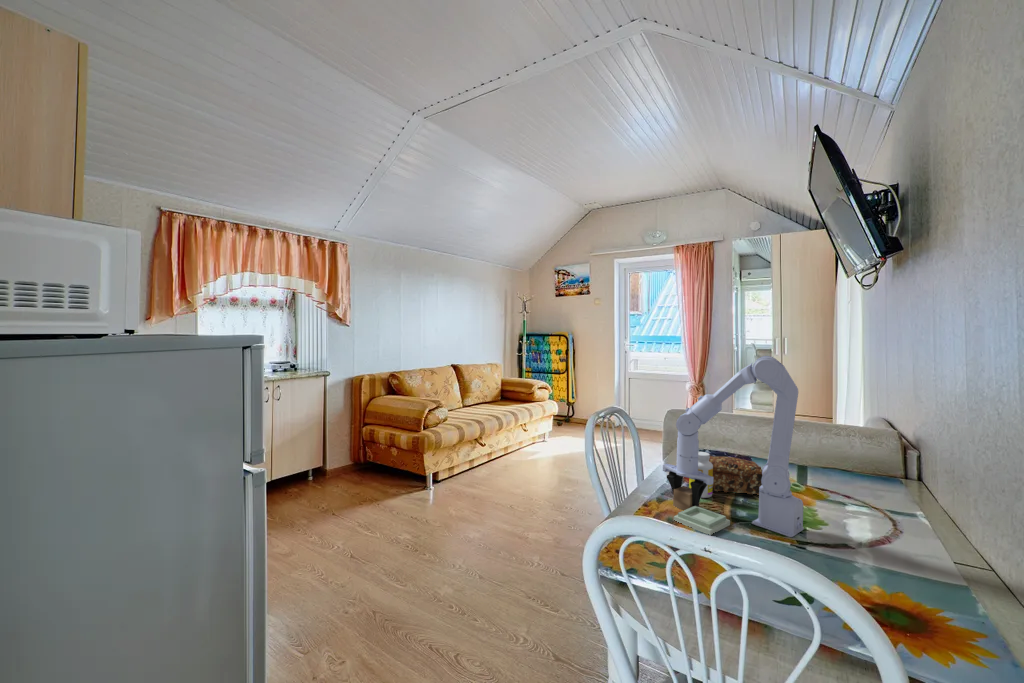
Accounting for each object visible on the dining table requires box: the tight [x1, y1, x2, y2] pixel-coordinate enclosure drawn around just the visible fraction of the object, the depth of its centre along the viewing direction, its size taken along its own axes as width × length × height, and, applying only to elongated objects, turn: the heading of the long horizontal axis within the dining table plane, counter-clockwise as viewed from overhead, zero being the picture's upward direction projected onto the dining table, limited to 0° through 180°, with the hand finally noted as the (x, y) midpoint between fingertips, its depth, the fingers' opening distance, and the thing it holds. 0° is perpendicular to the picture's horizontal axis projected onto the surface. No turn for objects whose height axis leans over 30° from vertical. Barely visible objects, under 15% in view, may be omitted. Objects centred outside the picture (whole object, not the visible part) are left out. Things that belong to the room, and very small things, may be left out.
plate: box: [673, 506, 731, 536], centre depth 114 cm, size 10×10×2 cm
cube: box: [672, 485, 700, 511], centre depth 124 cm, size 5×5×5 cm
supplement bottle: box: [688, 451, 714, 499], centre depth 134 cm, size 7×7×13 cm
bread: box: [709, 455, 763, 496], centre depth 140 cm, size 19×11×10 cm, turn 74°
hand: (686, 502), depth 124 cm, fingers closed on cube, 5 cm apart
